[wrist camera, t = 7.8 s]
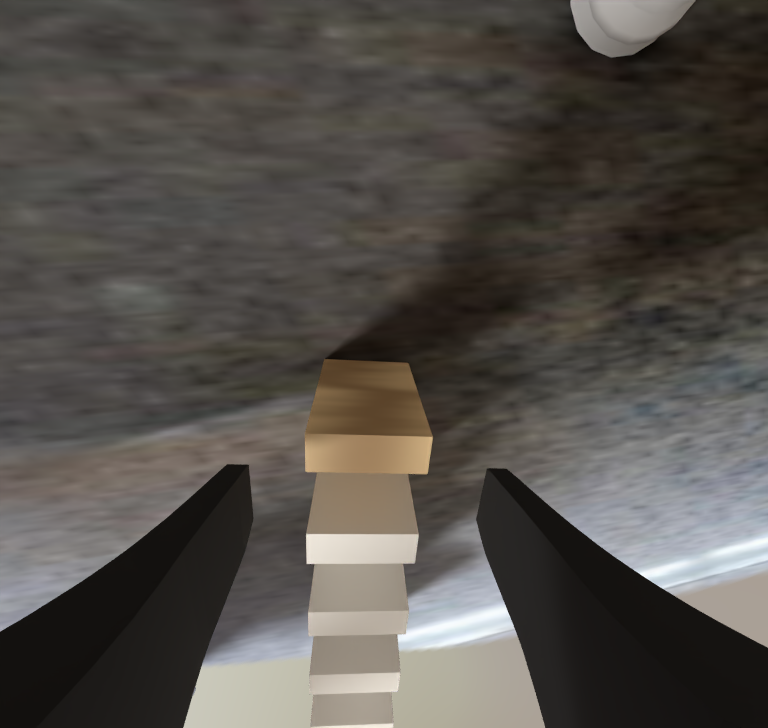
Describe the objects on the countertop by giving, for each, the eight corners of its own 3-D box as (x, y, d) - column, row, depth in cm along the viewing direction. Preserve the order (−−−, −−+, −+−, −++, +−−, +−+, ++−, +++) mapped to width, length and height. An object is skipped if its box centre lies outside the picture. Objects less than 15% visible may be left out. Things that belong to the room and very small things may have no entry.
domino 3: (323, 567, 24) (309, 694, 18) (323, 550, 24) (309, 675, 17) (388, 566, 25) (397, 691, 18) (389, 549, 24) (400, 672, 17)
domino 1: (323, 457, 21) (306, 563, 14) (324, 433, 20) (306, 533, 14) (398, 458, 21) (414, 563, 15) (400, 435, 21) (418, 534, 14)
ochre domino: (324, 386, 19) (305, 472, 13) (324, 359, 19) (304, 433, 12) (405, 389, 20) (427, 474, 13) (408, 362, 19) (433, 437, 12)
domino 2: (323, 516, 22) (308, 636, 16) (323, 496, 22) (308, 612, 15) (392, 516, 23) (405, 633, 16) (394, 497, 22) (408, 610, 16)
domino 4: (323, 611, 26) (310, 743, 19) (323, 596, 25) (310, 726, 19) (383, 610, 26) (391, 739, 20) (385, 595, 26) (393, 723, 19)
